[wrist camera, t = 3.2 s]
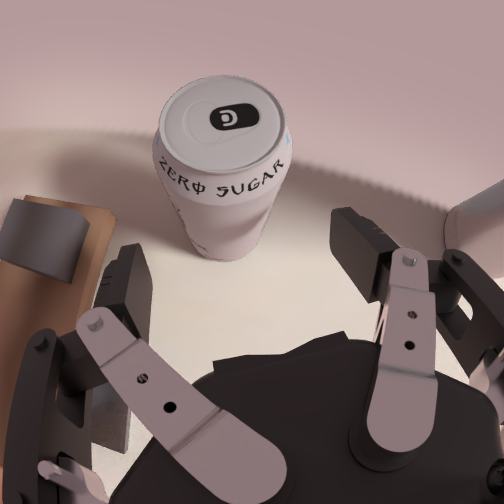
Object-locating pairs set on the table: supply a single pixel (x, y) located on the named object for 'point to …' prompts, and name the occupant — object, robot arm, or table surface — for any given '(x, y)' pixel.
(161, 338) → the table surface
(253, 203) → the energy drink can
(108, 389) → the seesaw stand
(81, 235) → the seesaw beam
